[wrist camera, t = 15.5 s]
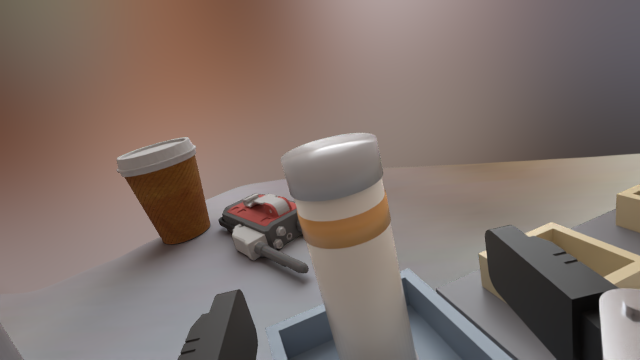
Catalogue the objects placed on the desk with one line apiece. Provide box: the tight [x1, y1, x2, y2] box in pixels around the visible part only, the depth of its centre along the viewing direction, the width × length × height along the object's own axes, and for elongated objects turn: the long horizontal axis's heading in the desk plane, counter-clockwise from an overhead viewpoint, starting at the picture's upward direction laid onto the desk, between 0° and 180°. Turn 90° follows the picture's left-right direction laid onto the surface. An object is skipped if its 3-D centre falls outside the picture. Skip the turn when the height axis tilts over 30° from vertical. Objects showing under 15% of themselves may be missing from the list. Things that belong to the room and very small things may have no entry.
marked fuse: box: [281, 133, 419, 360], centre depth 16 cm, size 4×4×13 cm
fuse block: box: [436, 184, 640, 360], centre depth 22 cm, size 23×9×4 cm, turn 109°
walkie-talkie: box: [219, 193, 309, 273], centre depth 39 cm, size 9×4×20 cm
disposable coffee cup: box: [117, 137, 210, 244], centre depth 46 cm, size 10×10×12 cm
